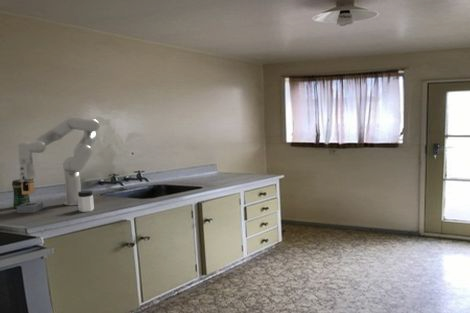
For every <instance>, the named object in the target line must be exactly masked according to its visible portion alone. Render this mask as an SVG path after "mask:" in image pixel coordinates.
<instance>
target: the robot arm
mask: <svg viewBox="0 0 470 313" xmlns="http://www.w3.org/2000/svg"><path fill="white" fill-rule="evenodd" d="M100 127H101V126H100V122H99V121H98V120H97V119H95V118H91V117H89V118H88V117H80V116H69V117H66V118H65V119H64V120H63V121H61V122H59V123H58V124H57V125H55V126H54V127H52V128H51V129H49V130H47V131H46V132H44V133H42V134H41V135H39V136H38V137H37V138H35V139H33V141H20V142H18V143H17V148H18V150H17V152H18V164H19V179H20V181H21V182H22V185H23V191H29V188H28V185H27V184H28V180H34V179H35V178H36V172H35V165H34V159H33V158H34V157H33V154H35V153H36V154H37V153H38V154H40V153H41V154H42V153H44V152H45V151H47V150H46V149H47V146H48V145H50V144H52V143H54V142H56V141H59V140H62V139H63V138H64V137H66V136H67V135H69V134H70V133H71V132H73V131H74V130H76V131H83V135H82V137H81V139H80V140H79V142H78V143H77V144H76V146H75V147H74V149H73V154H74V155H73V156H68V157H66V158H65V159H64V160H63V163H62V167H63V169H62V170H63V173H64V174H63V175H64V183H65V184H64V185H65V186H64V187H65V195H66V196H65V199H66V200H65V201H64V203H63V204H64V206H78V192H80V191H82V186H81V171H82V170H83V169H84V167H86V166H87V163H88V162H89V160H90V159H91V157H92V155H93V148H92V147H93V145H95V142H96V140H97V136H98V135H97V133H98V132H97V131H98V130H99V128H100ZM24 179H26V180H24ZM25 181H26V182H25Z"/></svg>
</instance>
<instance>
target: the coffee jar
mask: <svg viewBox="0 0 470 313" xmlns="http://www.w3.org/2000/svg"><path fill="white" fill-rule="evenodd" d="M24 180H26V179H24ZM11 187H12V190H13V208H15V209H17V208H16V207H17V206H19V205H21V204H24V203H29V202H31V199H30V194H22V186H21V181H20V178H19V179H14V180H12V183H11Z"/></svg>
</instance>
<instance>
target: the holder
mask: <svg viewBox="0 0 470 313" xmlns="http://www.w3.org/2000/svg"><path fill="white" fill-rule="evenodd" d="M15 209H16V214H27V213H36V212H39V211H40V210H42V209H44V202H43V201H40V202H39V201H38V202H35V201H33V202H31V201H30V202H29V203H24V204H21V205H19V206H17V207H16V208H15Z"/></svg>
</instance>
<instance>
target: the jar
mask: <svg viewBox="0 0 470 313" xmlns="http://www.w3.org/2000/svg"><path fill="white" fill-rule="evenodd" d="M94 203H95V202H94V195H93V190H90V189H88V190H81V191H80V192H78V205H77V206H78V211H79V212H80V213H88V212H92V211H93V210H95V206H94Z"/></svg>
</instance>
